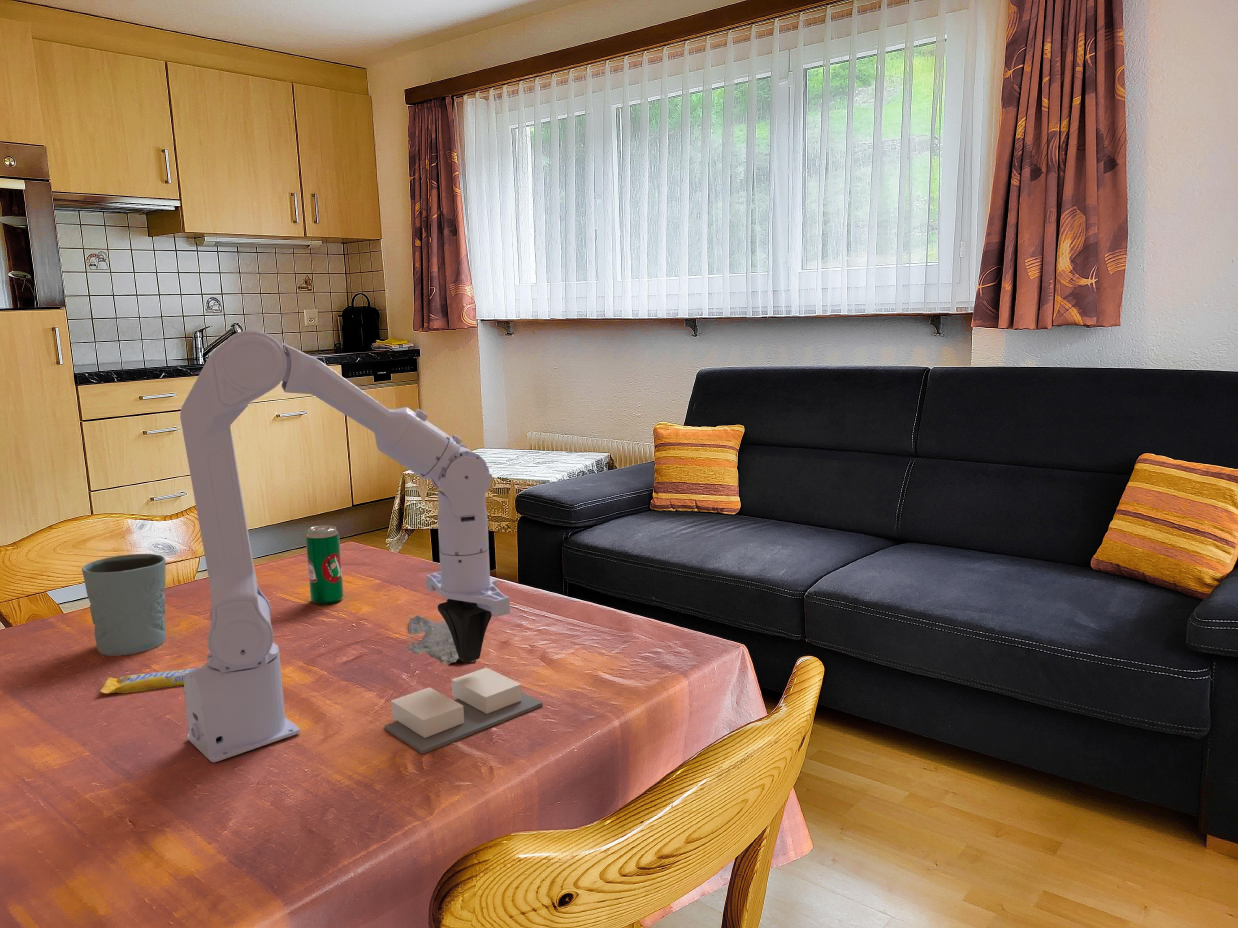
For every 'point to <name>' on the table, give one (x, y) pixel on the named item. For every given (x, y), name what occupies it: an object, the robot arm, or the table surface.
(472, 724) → the mat
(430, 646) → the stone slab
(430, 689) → the beige flat block
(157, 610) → the grey green cup
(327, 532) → the soda can
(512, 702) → the tan upright block
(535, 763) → the table surface
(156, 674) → the candy bar
